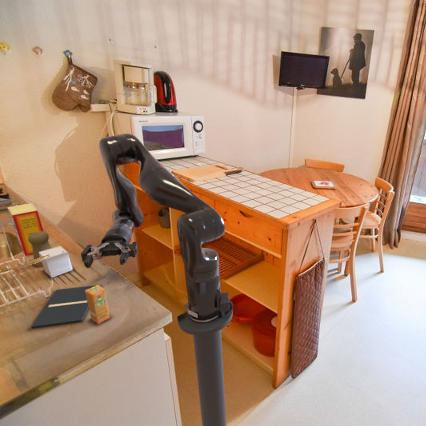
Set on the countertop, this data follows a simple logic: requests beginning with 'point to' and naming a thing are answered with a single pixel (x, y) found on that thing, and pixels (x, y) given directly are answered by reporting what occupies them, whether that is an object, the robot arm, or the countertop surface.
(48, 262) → the product carton
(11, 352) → the countertop surface
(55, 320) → the slate mat
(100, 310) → the supplement box
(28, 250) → the baking soda box
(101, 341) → the countertop surface
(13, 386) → the countertop surface
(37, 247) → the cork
